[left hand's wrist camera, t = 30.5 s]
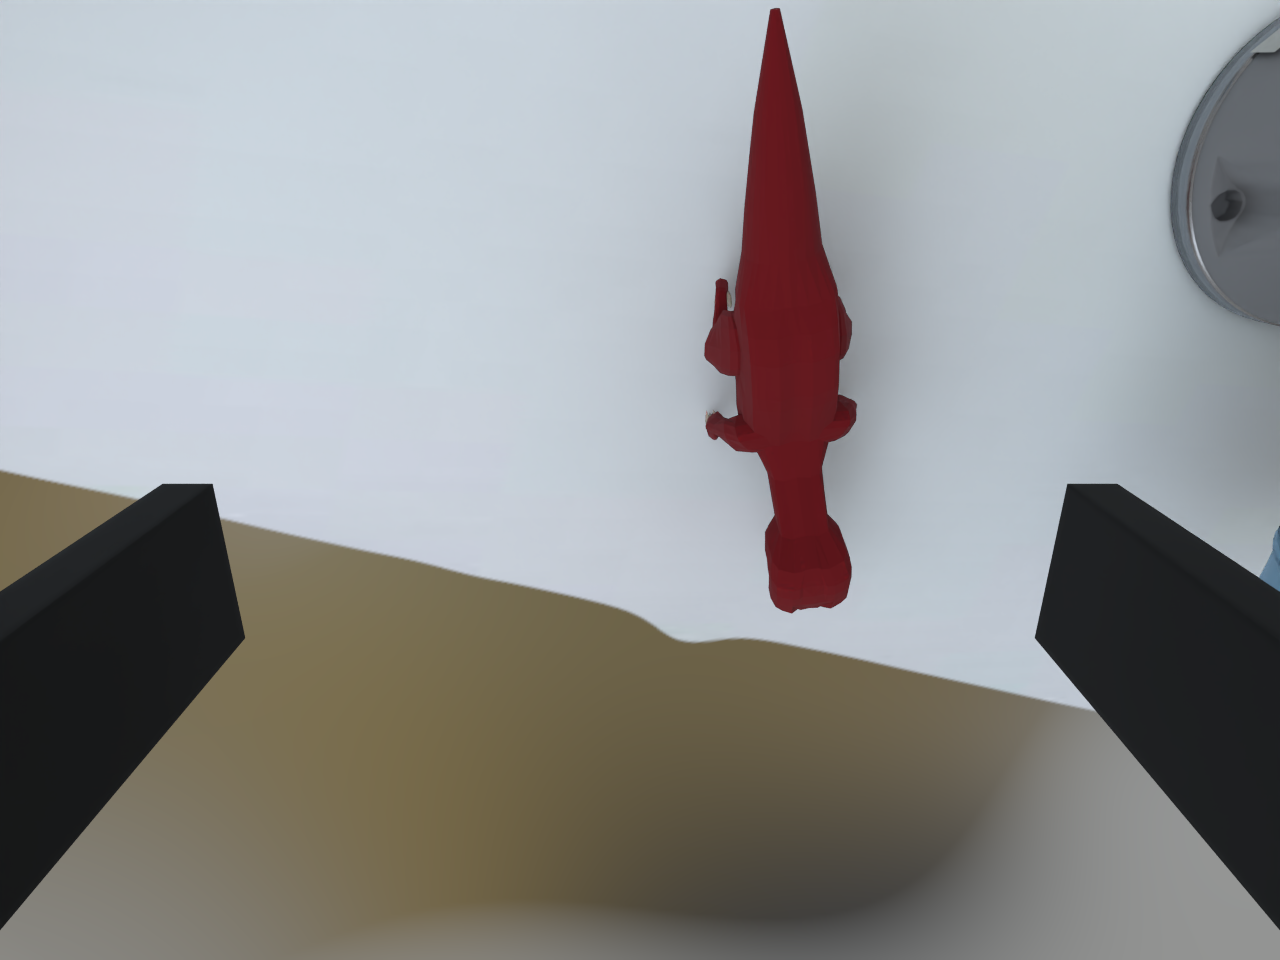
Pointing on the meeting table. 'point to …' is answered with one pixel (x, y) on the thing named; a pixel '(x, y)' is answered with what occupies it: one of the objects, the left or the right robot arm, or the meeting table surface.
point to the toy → (786, 344)
